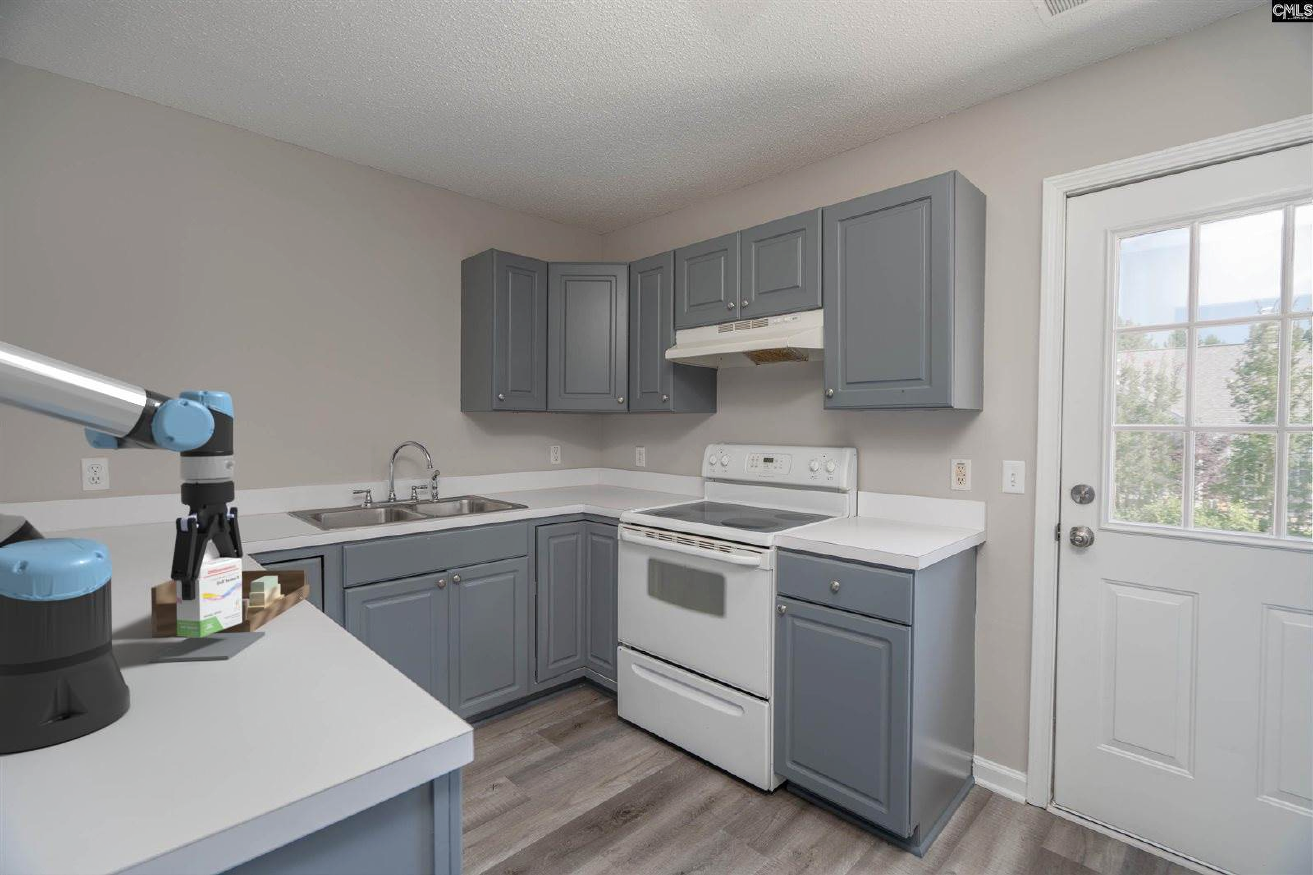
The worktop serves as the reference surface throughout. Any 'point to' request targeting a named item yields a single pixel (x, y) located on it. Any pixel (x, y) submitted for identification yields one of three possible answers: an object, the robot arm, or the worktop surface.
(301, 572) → the rack
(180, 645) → the mat
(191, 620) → the ink box
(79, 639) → the robot arm
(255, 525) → the worktop surface
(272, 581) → the offcut top
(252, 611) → the offcut bottom
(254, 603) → the block
